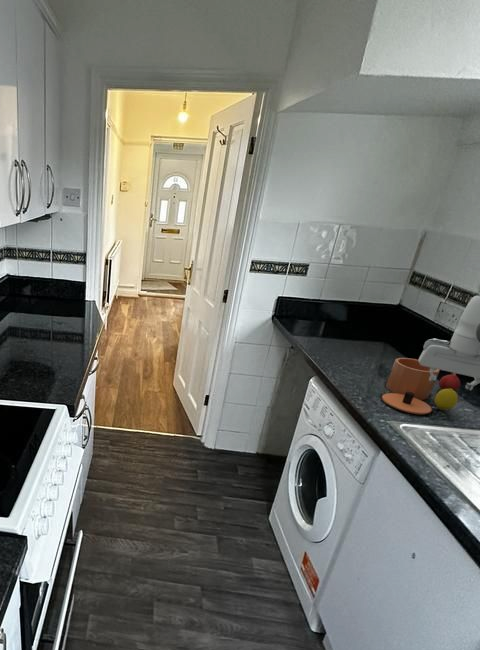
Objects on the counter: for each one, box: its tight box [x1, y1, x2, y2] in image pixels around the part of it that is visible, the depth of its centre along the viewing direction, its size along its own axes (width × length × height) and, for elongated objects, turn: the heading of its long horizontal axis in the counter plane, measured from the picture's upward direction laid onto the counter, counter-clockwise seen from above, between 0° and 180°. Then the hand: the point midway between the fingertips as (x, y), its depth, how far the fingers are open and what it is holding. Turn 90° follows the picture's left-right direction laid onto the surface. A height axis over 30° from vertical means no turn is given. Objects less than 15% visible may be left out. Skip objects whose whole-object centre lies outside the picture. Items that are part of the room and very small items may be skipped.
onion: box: [438, 372, 461, 392], centre depth 147 cm, size 6×6×8 cm
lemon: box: [433, 388, 459, 411], centre depth 135 cm, size 6×6×8 cm
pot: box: [385, 357, 441, 401], centre depth 146 cm, size 13×13×10 cm
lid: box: [381, 392, 433, 415], centre depth 137 cm, size 14×14×5 cm
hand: (449, 384), depth 133 cm, fingers open, 8 cm apart
